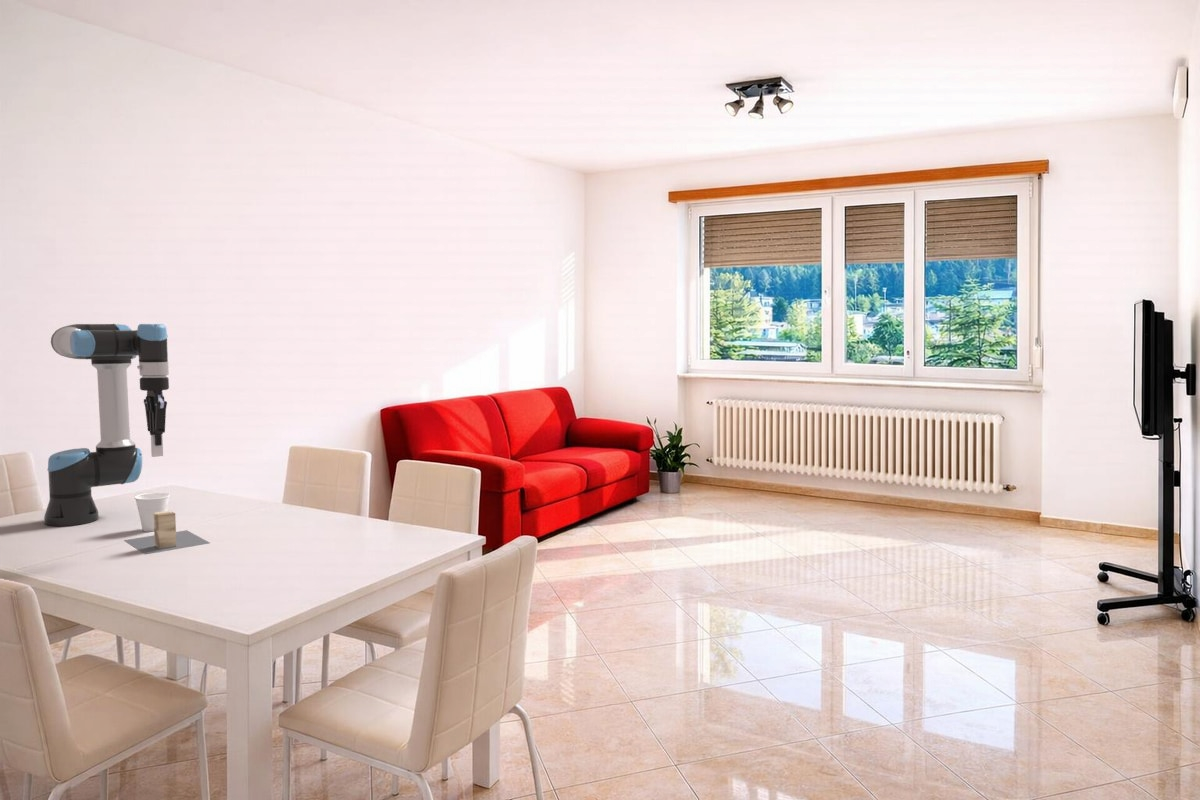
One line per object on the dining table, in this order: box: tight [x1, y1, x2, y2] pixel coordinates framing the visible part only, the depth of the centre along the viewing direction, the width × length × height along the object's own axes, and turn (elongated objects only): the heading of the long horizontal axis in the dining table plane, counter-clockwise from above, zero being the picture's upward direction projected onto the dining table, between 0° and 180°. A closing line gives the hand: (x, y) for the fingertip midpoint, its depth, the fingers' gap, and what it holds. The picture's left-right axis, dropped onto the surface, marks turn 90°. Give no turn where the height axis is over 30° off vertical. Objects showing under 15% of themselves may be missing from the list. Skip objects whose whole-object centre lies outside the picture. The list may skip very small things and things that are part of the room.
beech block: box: [153, 510, 177, 549], centre depth 245 cm, size 4×4×10 cm
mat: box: [123, 529, 211, 555], centre depth 250 cm, size 20×18×1 cm
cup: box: [134, 492, 171, 533], centre depth 265 cm, size 10×10×11 cm
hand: (157, 456), depth 246 cm, fingers closed
